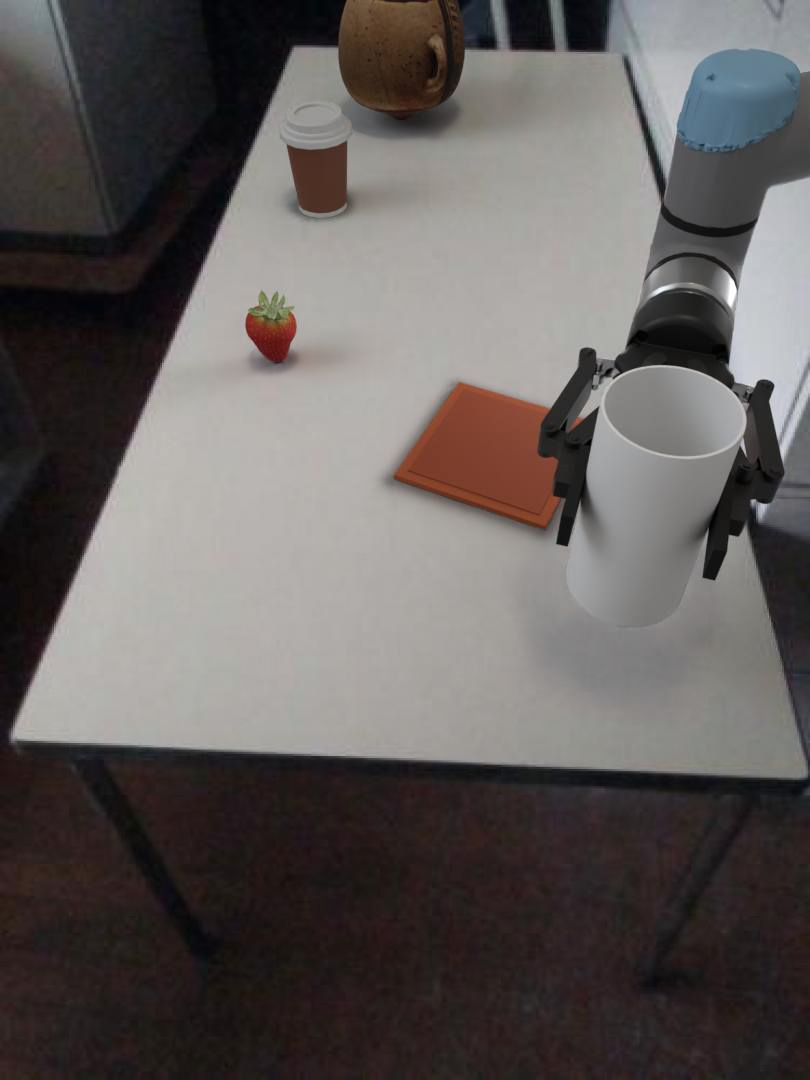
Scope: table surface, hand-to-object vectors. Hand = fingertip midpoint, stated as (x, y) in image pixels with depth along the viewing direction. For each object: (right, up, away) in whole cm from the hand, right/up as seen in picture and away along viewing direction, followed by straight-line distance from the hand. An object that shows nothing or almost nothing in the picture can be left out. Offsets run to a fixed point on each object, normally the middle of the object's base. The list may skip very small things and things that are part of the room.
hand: (638, 547), depth 51 cm
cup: (+2, -3, +10) cm, 10 cm away
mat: (-5, +9, +31) cm, 32 cm away
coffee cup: (-25, +45, +62) cm, 81 cm away
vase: (-14, +65, +79) cm, 103 cm away
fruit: (-28, +20, +41) cm, 53 cm away
